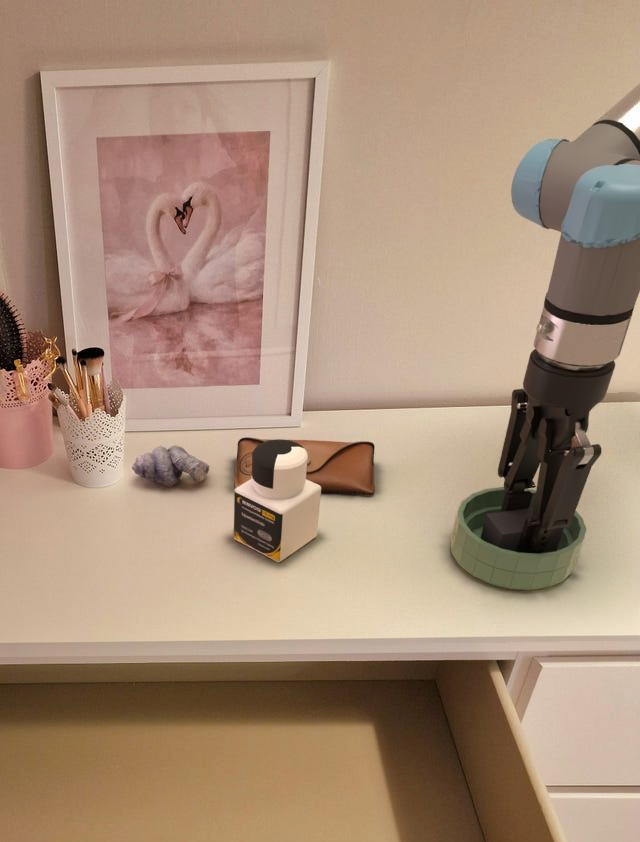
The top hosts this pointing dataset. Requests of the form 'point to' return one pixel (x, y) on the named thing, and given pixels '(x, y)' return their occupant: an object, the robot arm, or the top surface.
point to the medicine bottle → (277, 501)
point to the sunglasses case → (322, 464)
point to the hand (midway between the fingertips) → (515, 554)
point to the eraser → (513, 530)
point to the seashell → (169, 466)
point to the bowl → (507, 564)
